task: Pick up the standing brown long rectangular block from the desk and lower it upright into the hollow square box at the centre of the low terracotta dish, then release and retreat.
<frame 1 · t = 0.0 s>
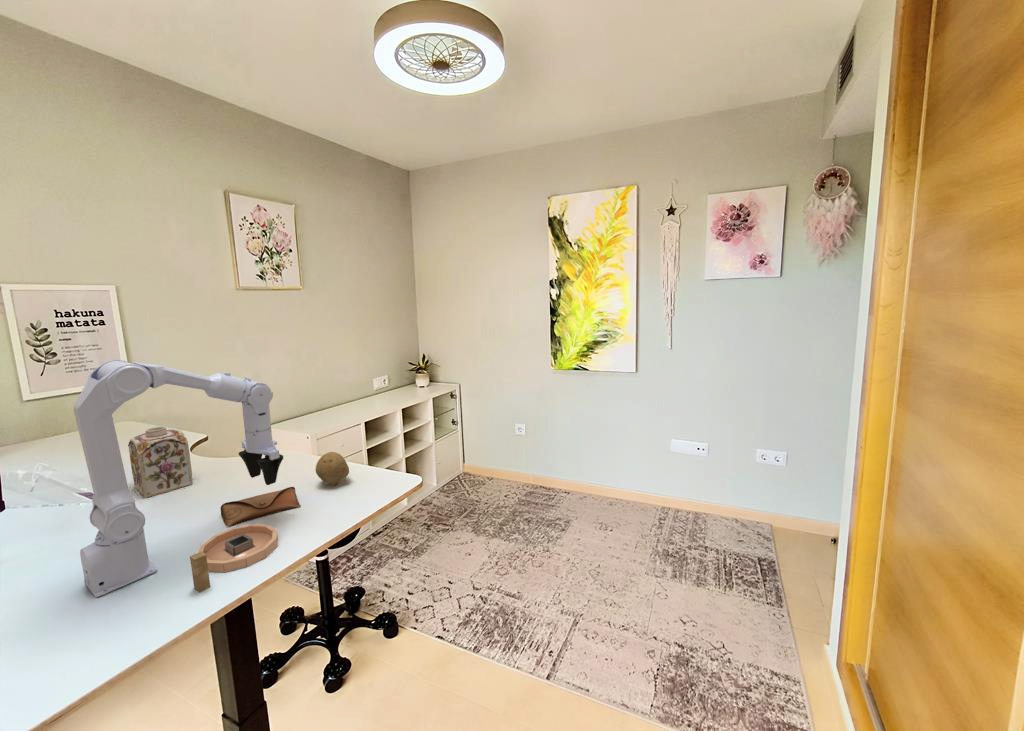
hand: (263, 479, 108), 10 cm above the table, fingers open, 7 cm apart
sunglasses case: (263, 512, 113), on the table
brown long rectangular block: (202, 587, 83), on the table
coconut: (332, 484, 129), on the table
jar dish: (239, 550, 95), on the table
hollow square box: (239, 544, 95), in the jar dish
decorative jar: (164, 486, 127), on the table
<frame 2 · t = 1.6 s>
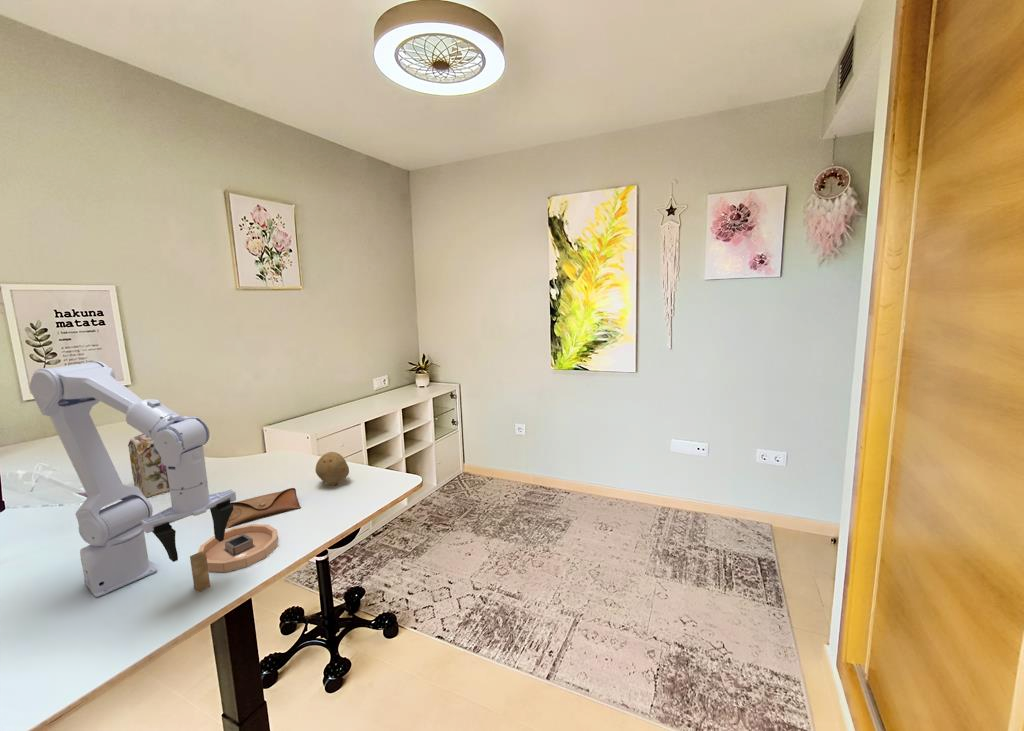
hand: (197, 549, 82), 8 cm above the table, fingers open, 7 cm apart
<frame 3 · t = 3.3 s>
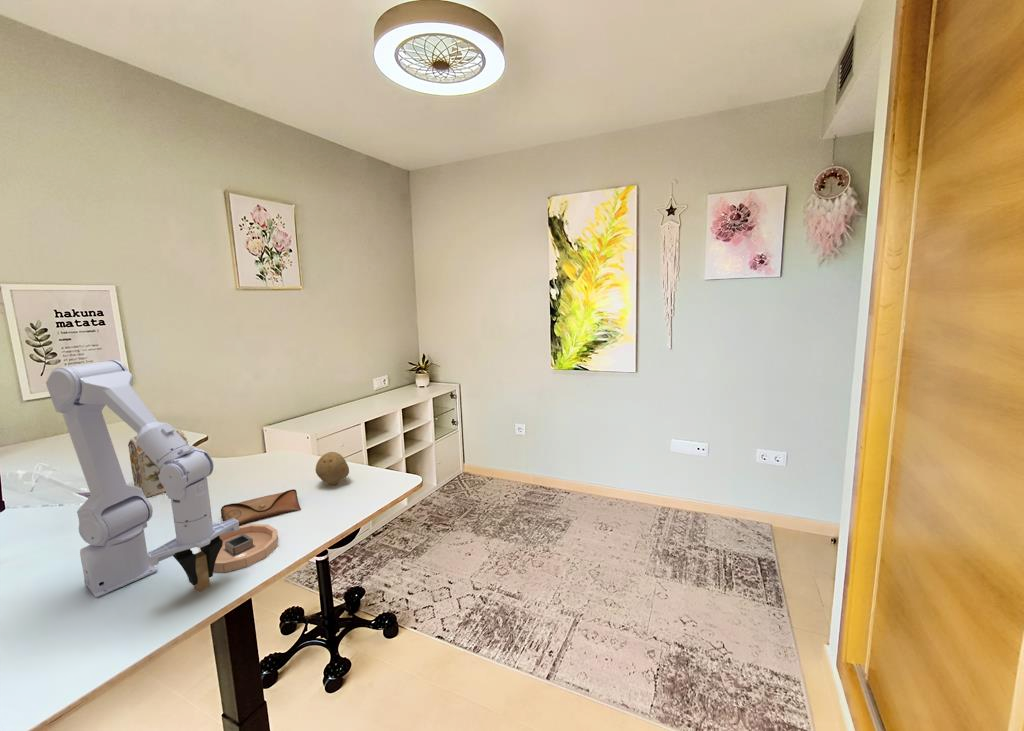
hand: (201, 578, 83), 2 cm above the table, fingers closed on brown long rectangular block, 2 cm apart
brown long rectangular block: (202, 587, 83), on the table, touching gripper
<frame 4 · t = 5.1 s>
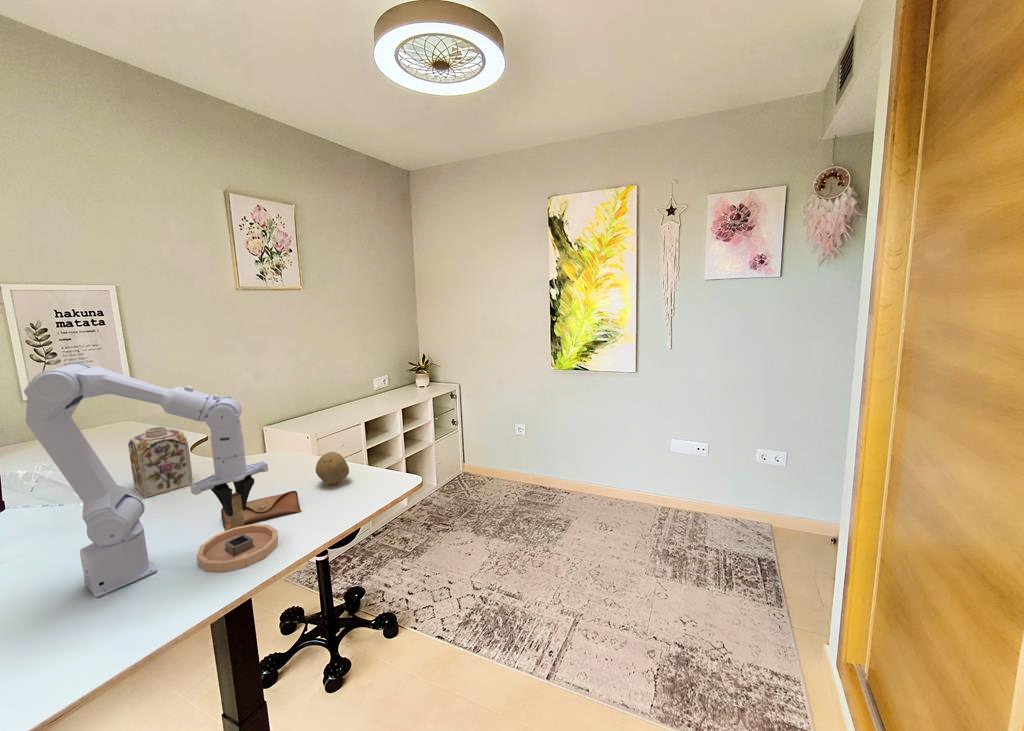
hand: (235, 512, 94), 9 cm above the table, fingers closed on brown long rectangular block
brown long rectangular block: (237, 524, 94), point 6 cm above the table, touching gripper
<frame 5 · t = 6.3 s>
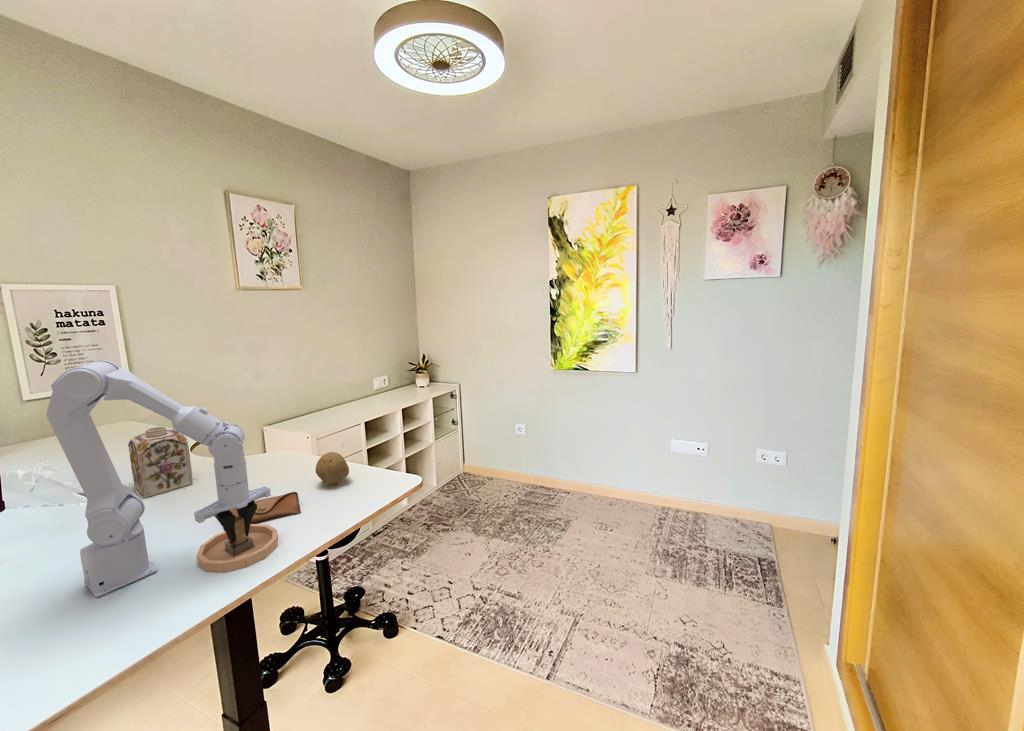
hand: (238, 537, 95), 3 cm above the table, fingers closed on brown long rectangular block, 2 cm apart
brown long rectangular block: (240, 547, 95), point 1 cm above the table, touching gripper, hollow square box
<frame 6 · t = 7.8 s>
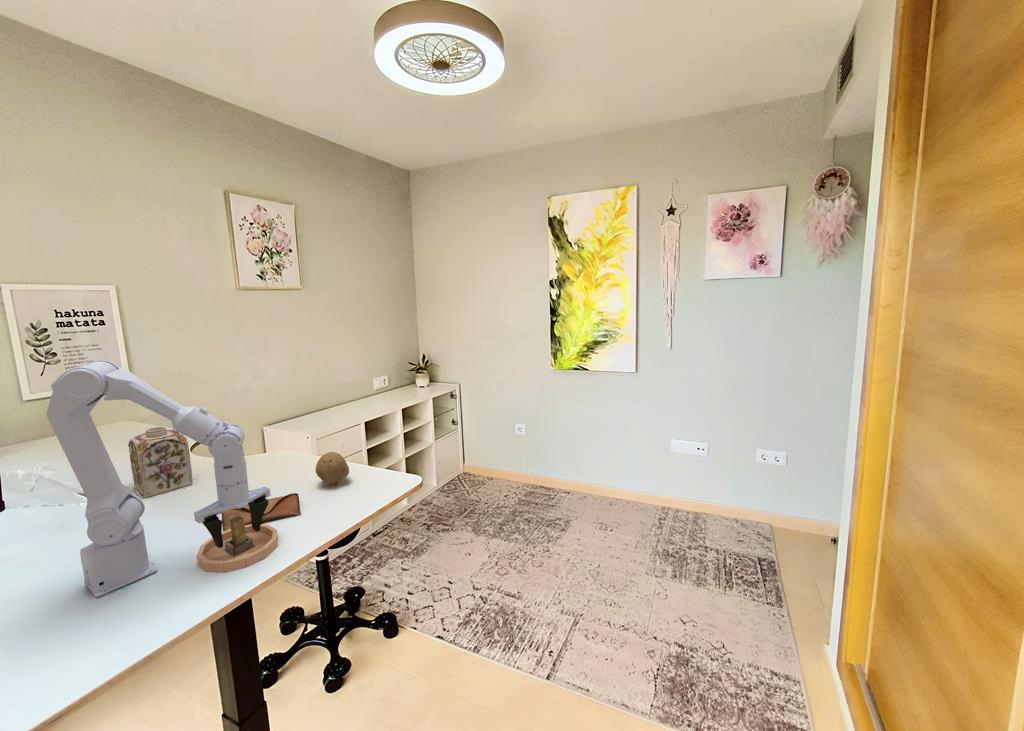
hand: (238, 537, 95), 3 cm above the table, fingers open, 7 cm apart
brown long rectangular block: (240, 547, 95), point 1 cm above the table, touching hollow square box
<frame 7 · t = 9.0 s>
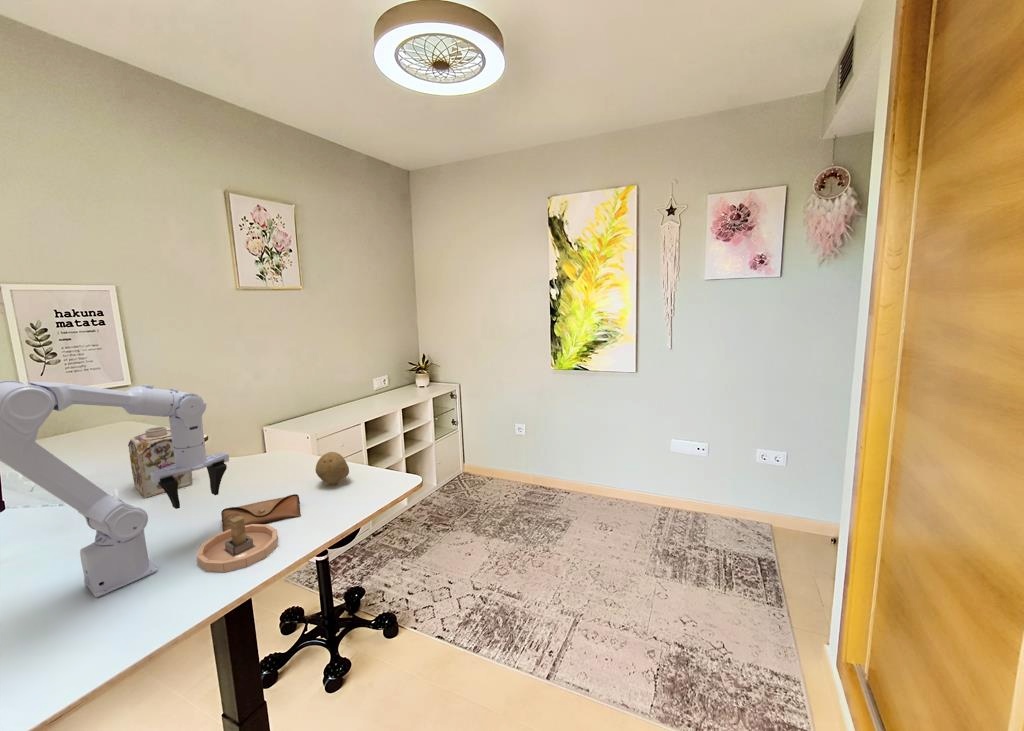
hand: (196, 500, 98), 10 cm above the table, fingers open, 7 cm apart
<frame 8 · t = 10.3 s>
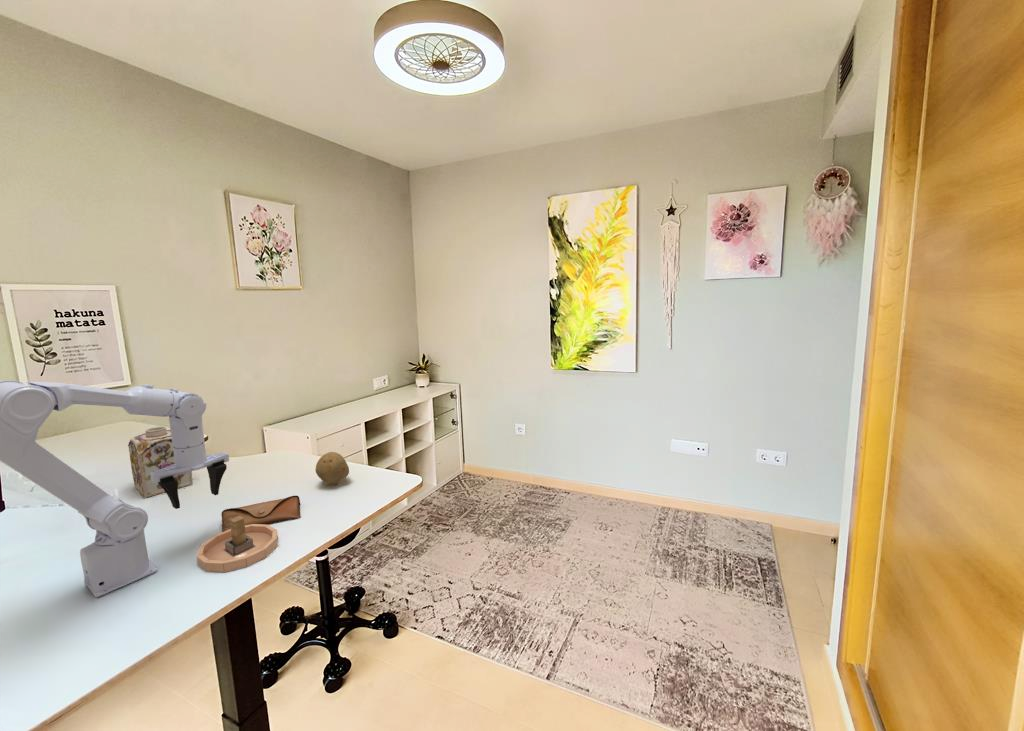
hand: (196, 500, 98), 10 cm above the table, fingers open, 7 cm apart
at the end: brown long rectangular block 0.2 cm off-centre on the hollow square box, point 0.7 cm above the hollow square box's base; brown long rectangular block tilted 0°; the gripper is holding nothing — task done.
